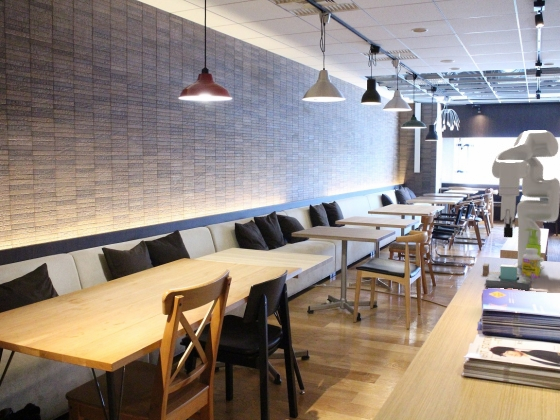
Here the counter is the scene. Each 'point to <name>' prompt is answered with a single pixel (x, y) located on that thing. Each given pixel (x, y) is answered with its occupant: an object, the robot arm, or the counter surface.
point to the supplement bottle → (531, 263)
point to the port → (508, 282)
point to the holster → (487, 270)
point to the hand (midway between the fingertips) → (508, 236)
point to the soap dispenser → (534, 242)
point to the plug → (508, 272)
